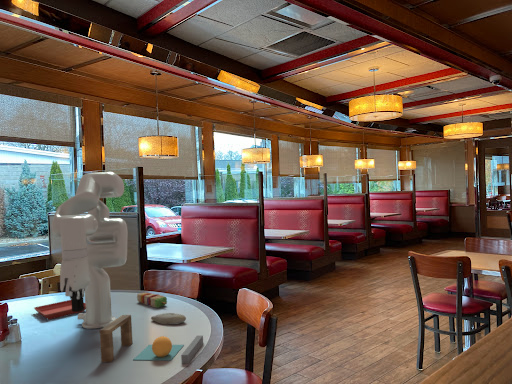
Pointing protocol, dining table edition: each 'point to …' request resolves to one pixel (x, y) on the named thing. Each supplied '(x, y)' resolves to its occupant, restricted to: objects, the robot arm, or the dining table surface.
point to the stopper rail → (191, 349)
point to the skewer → (152, 299)
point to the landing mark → (148, 355)
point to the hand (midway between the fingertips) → (78, 310)
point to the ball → (161, 346)
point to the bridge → (107, 336)
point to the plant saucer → (56, 309)
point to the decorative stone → (169, 318)
